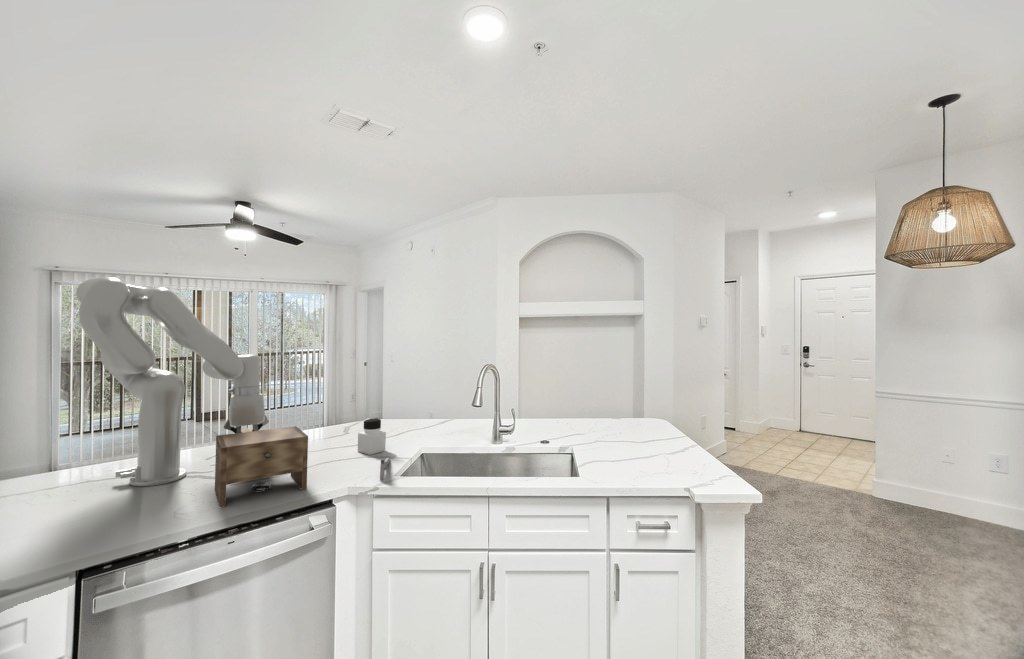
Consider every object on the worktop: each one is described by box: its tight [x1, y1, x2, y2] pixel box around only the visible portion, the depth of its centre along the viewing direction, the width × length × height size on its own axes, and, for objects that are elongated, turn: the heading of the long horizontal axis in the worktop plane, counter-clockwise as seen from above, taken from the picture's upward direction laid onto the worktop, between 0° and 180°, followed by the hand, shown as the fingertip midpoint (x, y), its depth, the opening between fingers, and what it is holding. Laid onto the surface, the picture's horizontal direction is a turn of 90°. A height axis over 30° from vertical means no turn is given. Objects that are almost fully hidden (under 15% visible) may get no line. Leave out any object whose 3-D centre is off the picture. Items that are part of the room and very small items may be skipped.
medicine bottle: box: [357, 417, 387, 456], centre depth 153 cm, size 7×7×12 cm
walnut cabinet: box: [214, 426, 309, 508], centre depth 114 cm, size 20×15×15 cm
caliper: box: [379, 457, 391, 482], centre depth 134 cm, size 20×1×6 cm, turn 11°
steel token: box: [251, 481, 271, 492], centre depth 116 cm, size 4×4×1 cm
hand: (247, 444), depth 141 cm, fingers closed on scraper, 3 cm apart
